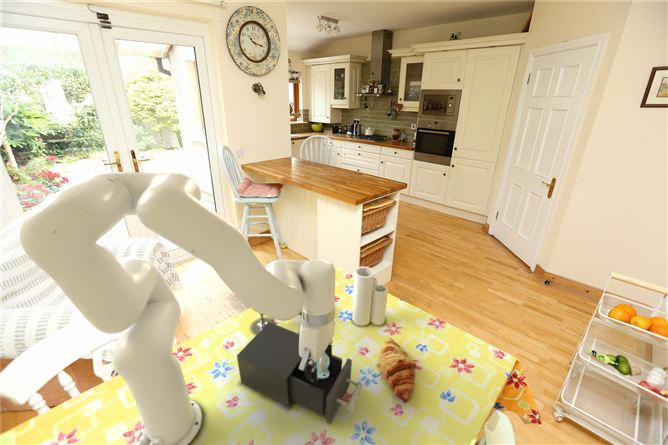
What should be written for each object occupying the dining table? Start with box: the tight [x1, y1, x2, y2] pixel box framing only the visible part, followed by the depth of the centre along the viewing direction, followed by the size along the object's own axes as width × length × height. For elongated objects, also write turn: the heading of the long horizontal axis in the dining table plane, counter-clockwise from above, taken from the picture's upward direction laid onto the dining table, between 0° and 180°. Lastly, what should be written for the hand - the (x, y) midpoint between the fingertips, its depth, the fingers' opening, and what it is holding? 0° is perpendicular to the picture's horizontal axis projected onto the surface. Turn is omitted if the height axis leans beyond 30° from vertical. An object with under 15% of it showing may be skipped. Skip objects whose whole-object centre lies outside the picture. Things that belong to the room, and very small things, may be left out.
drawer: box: [288, 354, 364, 425], centre depth 75 cm, size 19×12×9 cm, turn 64°
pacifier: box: [309, 352, 330, 381], centre depth 72 cm, size 7×6×6 cm
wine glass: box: [250, 307, 274, 335], centre depth 96 cm, size 8×8×15 cm
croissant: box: [378, 337, 417, 404], centre depth 83 cm, size 21×10×8 cm, turn 3°
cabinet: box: [236, 322, 302, 409], centre depth 80 cm, size 16×14×11 cm
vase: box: [351, 265, 389, 327], centre depth 100 cm, size 11×7×20 cm, turn 95°
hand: (318, 365), depth 73 cm, fingers closed on pacifier, 7 cm apart
